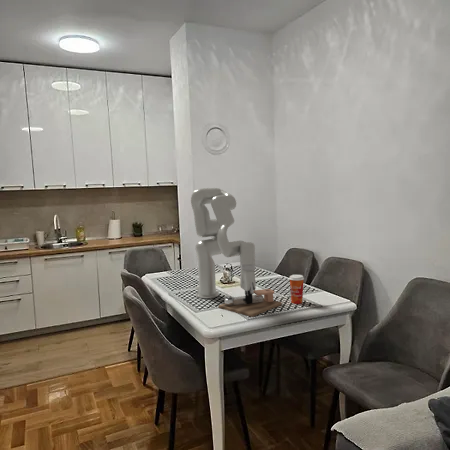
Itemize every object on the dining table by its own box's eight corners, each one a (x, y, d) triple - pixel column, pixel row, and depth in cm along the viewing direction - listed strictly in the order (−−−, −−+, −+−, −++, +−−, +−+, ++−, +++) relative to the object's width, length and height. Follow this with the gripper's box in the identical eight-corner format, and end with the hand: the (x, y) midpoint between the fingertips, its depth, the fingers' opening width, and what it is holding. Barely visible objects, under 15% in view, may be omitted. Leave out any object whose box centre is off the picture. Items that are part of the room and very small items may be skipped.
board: (218, 307, 203) (218, 305, 203) (248, 297, 220) (248, 294, 220) (252, 317, 188) (252, 314, 188) (281, 304, 206) (281, 302, 205)
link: (226, 306, 200) (225, 299, 200) (223, 303, 205) (223, 296, 204) (263, 302, 205) (263, 295, 205) (260, 299, 210) (260, 292, 210)
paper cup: (286, 303, 208) (286, 276, 206) (293, 299, 214) (292, 273, 213) (301, 305, 203) (300, 278, 202) (306, 301, 210) (306, 275, 208)
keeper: (257, 305, 204) (257, 293, 204) (253, 302, 210) (253, 290, 209) (274, 303, 207) (274, 291, 206) (269, 300, 213) (269, 288, 212)
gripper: (235, 265, 206) (237, 300, 208) (246, 270, 192) (247, 308, 193) (249, 263, 208) (250, 298, 210) (260, 269, 194) (261, 306, 196)
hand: (248, 303), depth 202 cm, fingers closed
